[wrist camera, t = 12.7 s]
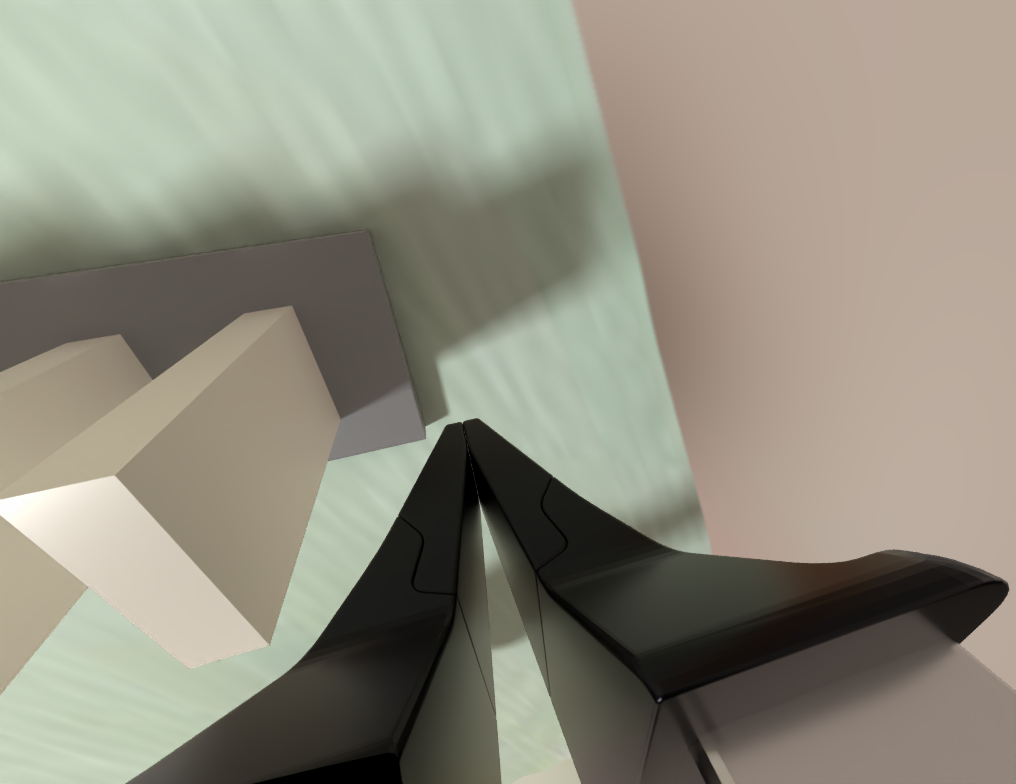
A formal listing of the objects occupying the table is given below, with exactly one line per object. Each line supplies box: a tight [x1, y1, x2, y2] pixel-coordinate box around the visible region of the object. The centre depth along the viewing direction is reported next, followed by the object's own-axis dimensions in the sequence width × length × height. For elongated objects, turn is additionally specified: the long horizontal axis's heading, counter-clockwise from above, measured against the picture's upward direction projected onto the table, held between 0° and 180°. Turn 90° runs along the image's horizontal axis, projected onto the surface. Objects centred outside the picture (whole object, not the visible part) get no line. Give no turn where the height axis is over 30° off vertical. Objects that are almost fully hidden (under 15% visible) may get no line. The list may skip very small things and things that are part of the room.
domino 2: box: [0, 306, 341, 669], centre depth 10 cm, size 5×2×9 cm, turn 6°
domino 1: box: [0, 334, 153, 695], centre depth 9 cm, size 5×2×9 cm, turn 6°
